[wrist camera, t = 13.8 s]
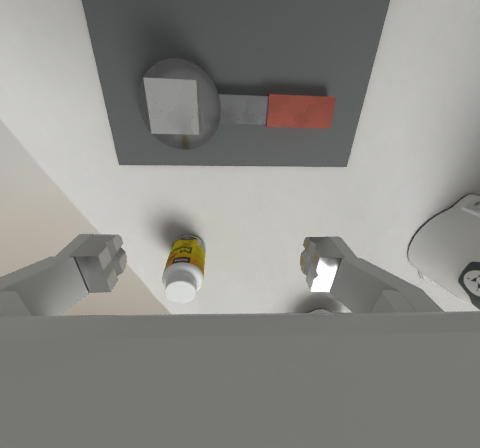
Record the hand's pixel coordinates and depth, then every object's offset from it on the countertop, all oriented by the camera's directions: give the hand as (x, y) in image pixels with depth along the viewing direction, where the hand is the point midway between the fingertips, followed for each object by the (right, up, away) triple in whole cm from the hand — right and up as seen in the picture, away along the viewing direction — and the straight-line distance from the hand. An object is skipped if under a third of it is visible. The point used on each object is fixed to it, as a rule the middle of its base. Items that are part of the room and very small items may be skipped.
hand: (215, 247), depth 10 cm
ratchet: (+1, +15, +18) cm, 23 cm away
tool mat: (+1, +19, +16) cm, 25 cm away
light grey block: (-5, +14, +15) cm, 21 cm away
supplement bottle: (-8, -3, +27) cm, 29 cm away
